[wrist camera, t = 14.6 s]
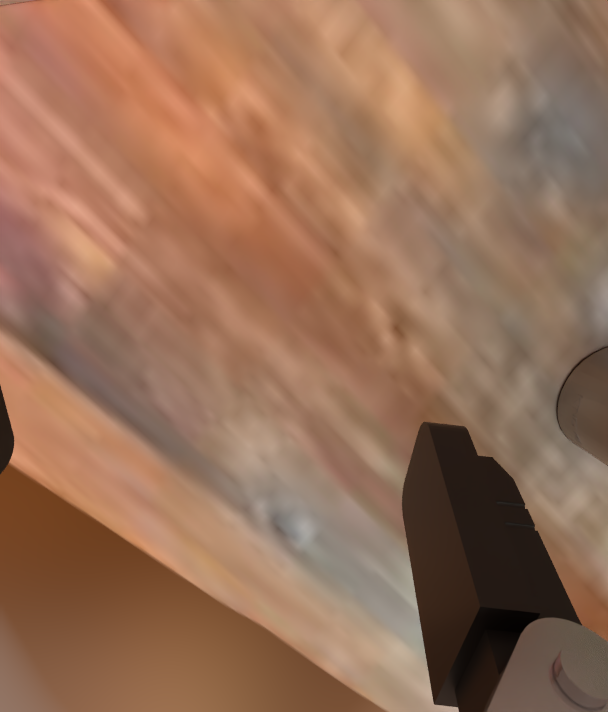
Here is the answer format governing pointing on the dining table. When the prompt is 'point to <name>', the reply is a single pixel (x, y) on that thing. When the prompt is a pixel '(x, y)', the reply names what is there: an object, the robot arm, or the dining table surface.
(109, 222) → the dining table surface
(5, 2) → the socket rail
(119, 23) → the dining table surface
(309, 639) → the dining table surface
